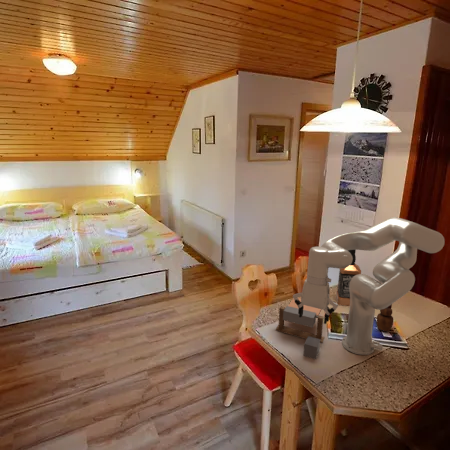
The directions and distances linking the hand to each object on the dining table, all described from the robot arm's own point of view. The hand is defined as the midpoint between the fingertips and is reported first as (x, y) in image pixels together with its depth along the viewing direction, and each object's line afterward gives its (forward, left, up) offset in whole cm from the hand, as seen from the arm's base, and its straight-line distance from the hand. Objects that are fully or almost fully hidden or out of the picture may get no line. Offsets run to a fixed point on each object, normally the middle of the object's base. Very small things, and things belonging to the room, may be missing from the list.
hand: (313, 319), depth 128 cm
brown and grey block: (+8, -16, -8) cm, 19 cm away
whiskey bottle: (-6, -53, -16) cm, 56 cm away
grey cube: (0, 0, -16) cm, 16 cm away
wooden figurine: (-25, -33, -16) cm, 45 cm away
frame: (+8, -11, -16) cm, 21 cm away
